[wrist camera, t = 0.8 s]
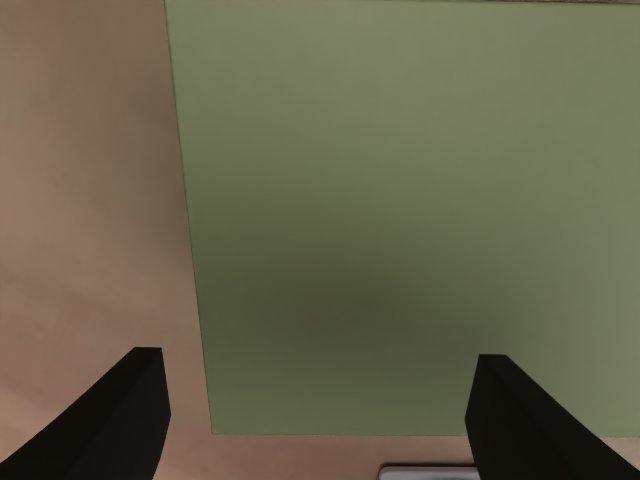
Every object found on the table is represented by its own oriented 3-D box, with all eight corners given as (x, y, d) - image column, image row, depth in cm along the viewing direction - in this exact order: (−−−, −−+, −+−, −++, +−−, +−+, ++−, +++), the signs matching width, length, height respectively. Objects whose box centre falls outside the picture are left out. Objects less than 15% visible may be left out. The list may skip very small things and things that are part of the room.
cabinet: (625, 7, 16) (871, 9, 9) (548, 292, 22) (666, 439, 14) (230, -2, 16) (161, -8, 9) (246, 288, 21) (211, 435, 14)
